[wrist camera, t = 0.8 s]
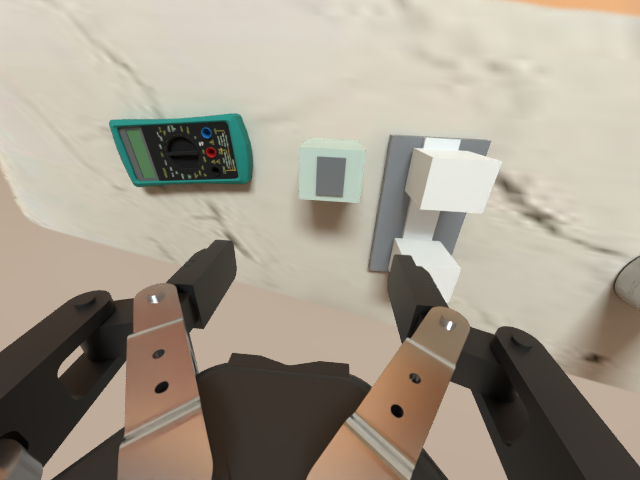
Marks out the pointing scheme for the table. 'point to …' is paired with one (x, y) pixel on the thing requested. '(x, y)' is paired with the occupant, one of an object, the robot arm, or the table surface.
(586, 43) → the table surface
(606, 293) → the table surface
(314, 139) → the block
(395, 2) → the table surface
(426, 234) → the rail panel
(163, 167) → the digital multimeter
